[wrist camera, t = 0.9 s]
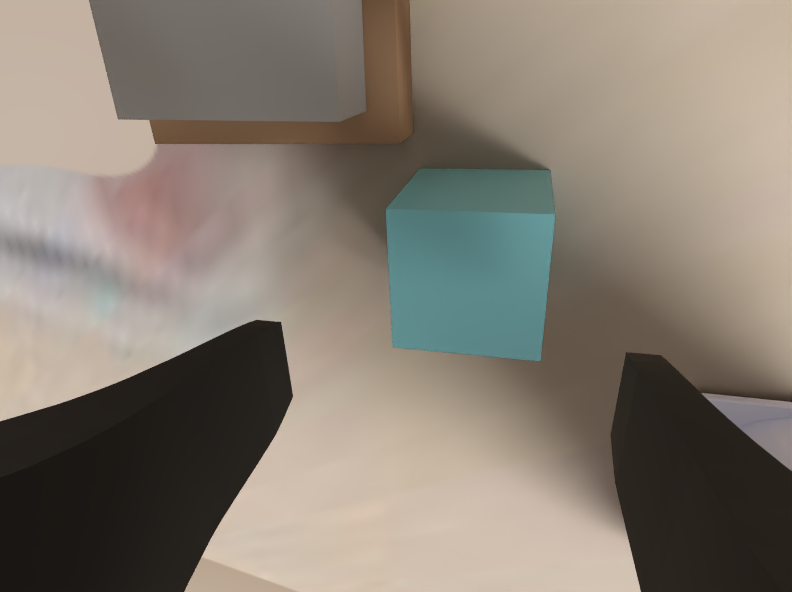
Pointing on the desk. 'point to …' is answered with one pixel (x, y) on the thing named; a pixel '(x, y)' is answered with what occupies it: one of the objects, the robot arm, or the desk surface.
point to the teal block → (471, 261)
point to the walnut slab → (377, 125)
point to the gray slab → (233, 59)
